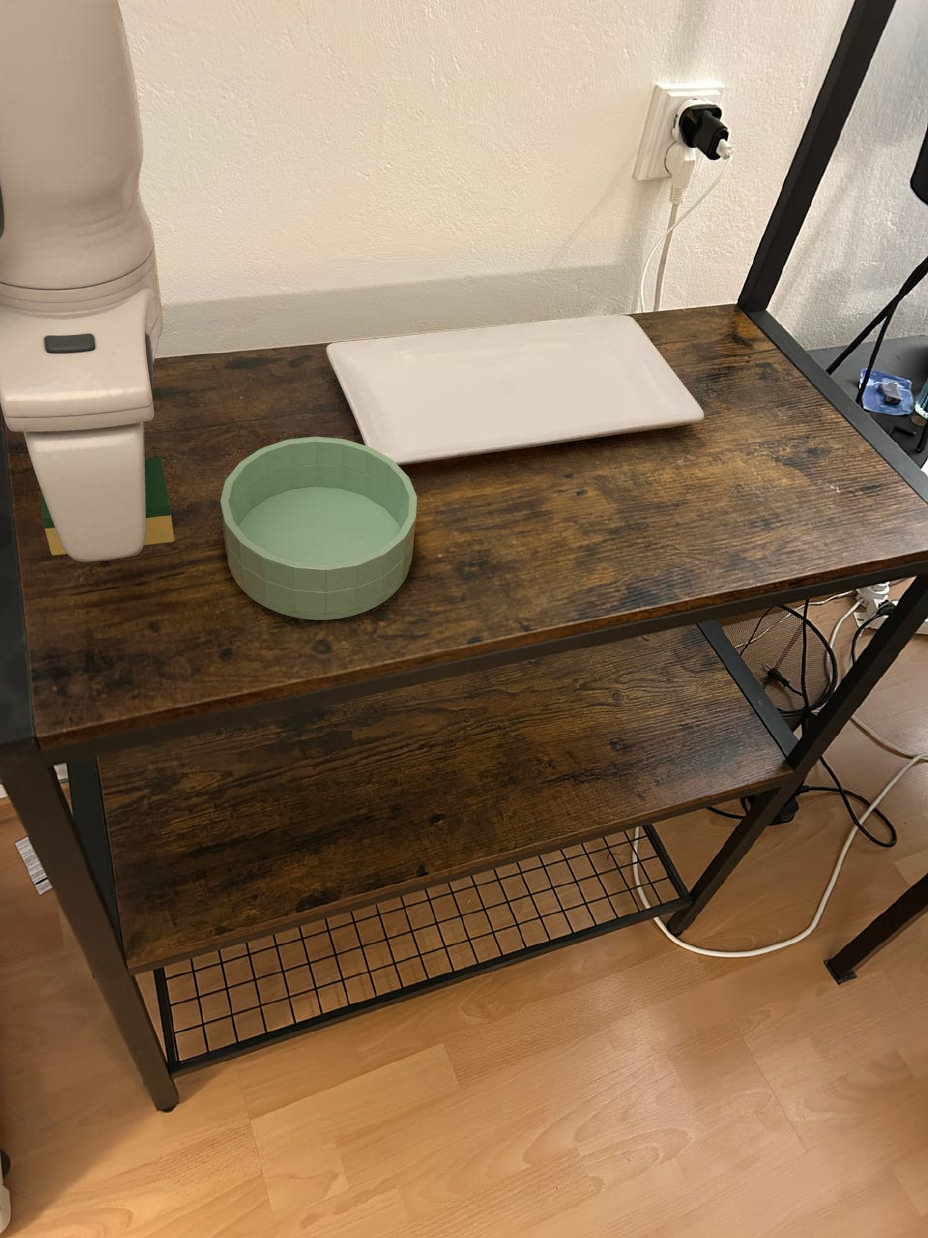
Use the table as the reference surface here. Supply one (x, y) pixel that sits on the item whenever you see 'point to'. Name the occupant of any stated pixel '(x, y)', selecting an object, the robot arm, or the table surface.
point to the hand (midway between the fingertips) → (107, 503)
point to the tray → (508, 387)
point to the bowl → (318, 527)
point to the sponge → (156, 510)
